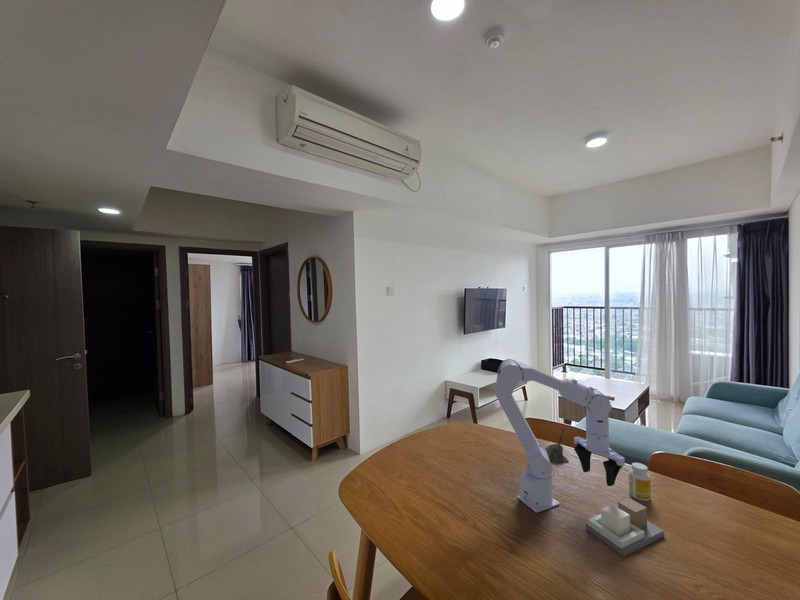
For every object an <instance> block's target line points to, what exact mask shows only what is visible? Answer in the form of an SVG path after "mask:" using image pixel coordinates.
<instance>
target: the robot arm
mask: <svg viewBox="0 0 800 600" xmlns="http://www.w3.org/2000/svg"><path fill="white" fill-rule="evenodd" d="M521 381H522V383H528V382H530V381H533V382H536V383H538V384H541V385H542V386H546V387H548V388H551V389H553V390H556V391H558V394H559V395H560V397H561V398H565V399H567V400H569V401H570V402H573V403H575V404H577V405H579V406H582V407H585V411H586V412H585V413H586V414H585V436H586V437H585V438H584V437H580V436H575V437H573V445H576V446H574V447H573V450H574V451H575V453H576V455H577V457H578V460H579V462H580V465H581V469H582V472H583V473H588V472H590V471H591V456H592V453H593V454H596V455H599V456H601V457H603V458H605V459H608V460H604V461H603V462H602V465H603V467H604V470H605V480H606V481H605V482H606V485H607V486H608V487H612V486H614V485H615V483H616V478H617V476H618V474H619V472H620V471H621V469H622V468H623V467H624V466H625V465H626V463H625V461H626V458H625V457H624V456H622V455H620V454H619V453H618V452H616V451H614V450H613V449H612V448H611V447H610V431H609V430H610V428H609V425H610V424H609V422H610V421H609V420H610V419H609V413H610V412H611V411H612V408H613V405H612V404H611V402H610V399H609V398H608V397H607V396H606V395H605V394H604V393H603V392H601V391H600V390H599V389H597V388H594V387H592V386H589V387H588V386H586V385H584V384H581V383H579V382H578V380H577V379H575V378H572V379H569V378H565V379H562V380H561V379H560V378H558V377H554V376H553V375H550V374H549V373H546V372H544V371H542V370H540V369H538V368H535V367H533V366H532V365H528V364H527V363H524V362H522V361H516V360H515V359H513V358H507V359H505V360H503V361H501V363H500V365H499V367H498V369H497V375H496V382H495V397H496V398H497V399H496V400H497V401H498V402H499V404H500V406H501V408H502V410H503V411H504V414H505V415H506V417H507V419H508V422H509V423H510V425H511V427H512V429H513V431H514V433H515V434H516V436H517V437H518V440H519V442H520V443H521V446H522V447H523V450H524V452H525V455H526V458H527V459H528V462H529V463H528V465H527V466H526V471H525V472H524V473H523V474H522V475H520V476H519V479H518V493H519V494H518V495H517V497H516V498H517V499H518V500H520V501H521V502H522V503H523V504H524V505H526V506H527V507H528V508H530V509H531V510H532V511H533V512H534V513H540V512H543V511H545V510H548V509H551V508H553V507H556V506H559V505H560V502H559V501H558V500H556V498H555V497H554V498H553V469H554V467H553V464H552V462H550V460H549V457H548V453H547V450H546V449H545V448H546V447H544V446H543V445H542V444H541V443H540V442H539V441H538V439H537V437H536V436H535V434H534V433H533V431H532V429H531V427H530V424H529V423H528V422H527V420H526V417H525V416H524V414H523V411H522V410H521V408H520V407H519V404H518V402H517V401H516V399H515V397H514V395H513V392H514V390H515V388H516V387H517V386H518V384H520V382H521Z"/></svg>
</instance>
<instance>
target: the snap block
mask: <svg viewBox="0 0 800 600" xmlns="http://www.w3.org/2000/svg"><path fill="white" fill-rule="evenodd" d="M600 514H601V525H602V526H603V527H605V528H606V529H608V530H609V531H611V532H612V533H614V534H615V535H616V536H618V537H619V538H620V537H622V536H624V535H627V534H629V533H630V515H629V514H627V513H626V512H624V511H622V510H621V509H619V508H618V506H615V505H614V504H610V505H607V506H605V507H603V508H602V507H601V509H600Z"/></svg>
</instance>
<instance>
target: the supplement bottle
mask: <svg viewBox="0 0 800 600" xmlns="http://www.w3.org/2000/svg"><path fill="white" fill-rule="evenodd" d="M648 472H649V468H648V466H647V465H646V464H643V463H640V462H632V463H631V469H630V470H629V472H628V481H629V482H628V485H629V486H628V488H629V489H628V491H629V494H630V496H631V497H633V498H634V499H636V500H639V501H642V500H643V502H648V501H650V500H651V498H652V497H651V495H652V494H651V493H652V491H651V490H652V489H651V485H652V484H651V483H652V482H651V475H650V473H648Z"/></svg>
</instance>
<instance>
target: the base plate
mask: <svg viewBox="0 0 800 600" xmlns="http://www.w3.org/2000/svg"><path fill="white" fill-rule="evenodd" d="M617 503H618V506H617V508H619V509H621V510H622V511H624V512H626V513H627V514H629V515H630V533H629V534H627V535H624V536H622V537H620V538H619V537H618V536H616V535H615V534H614V533H612V532H611V531H609V530H608V529H606V528H605V527H603V526H602V525H601V513H600V514H597V515H595V516H592V517H590V518H587V522H586V523H585V529H586V531H588V532H590V533H591V534H592V535H594V536H595V537H596V538H598V539H599V540H600V541H602V542H603V543H605V544H606V545H607V546H609V547H610V548H611V549H613V550H614V551H616V553H618V554H620V555H621V556H622V557H626V556H628V555H630V554H632V553H634V552H636V551H637V550H640V549H642V548H643V547H647V545H650V544H652V543H654V542H656V541H658V540H660V539H662V538H664V537H665V530H664V529H662V528H660V527H659V526H658V525H655V524H653V523H652V522H650V521H649V520H648V508H647V506H645V505H643V504H641V503H639V502H637V501H635V500H634V499H632V498H630V497H627V498H625V499H623V500H621V501H618V502H617Z"/></svg>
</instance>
